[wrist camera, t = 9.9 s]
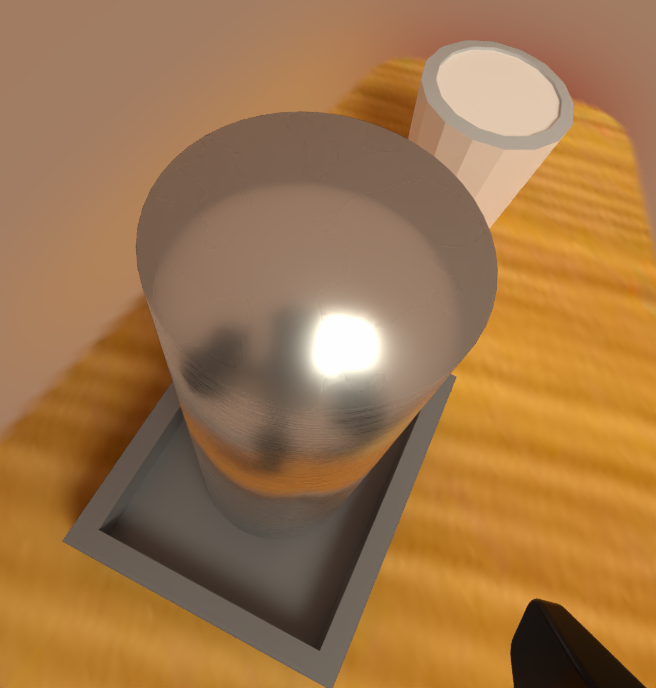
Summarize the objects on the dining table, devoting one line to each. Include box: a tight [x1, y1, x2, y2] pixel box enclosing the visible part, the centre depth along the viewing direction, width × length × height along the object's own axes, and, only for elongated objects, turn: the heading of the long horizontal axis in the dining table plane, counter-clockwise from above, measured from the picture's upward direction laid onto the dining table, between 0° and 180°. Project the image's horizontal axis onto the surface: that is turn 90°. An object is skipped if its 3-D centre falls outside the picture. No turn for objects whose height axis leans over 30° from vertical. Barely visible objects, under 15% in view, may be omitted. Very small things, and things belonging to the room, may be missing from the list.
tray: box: [63, 374, 456, 688], centre depth 21 cm, size 12×10×2 cm
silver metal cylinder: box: [136, 112, 498, 539], centre depth 15 cm, size 6×6×14 cm
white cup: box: [408, 40, 574, 228], centre depth 26 cm, size 7×7×7 cm
